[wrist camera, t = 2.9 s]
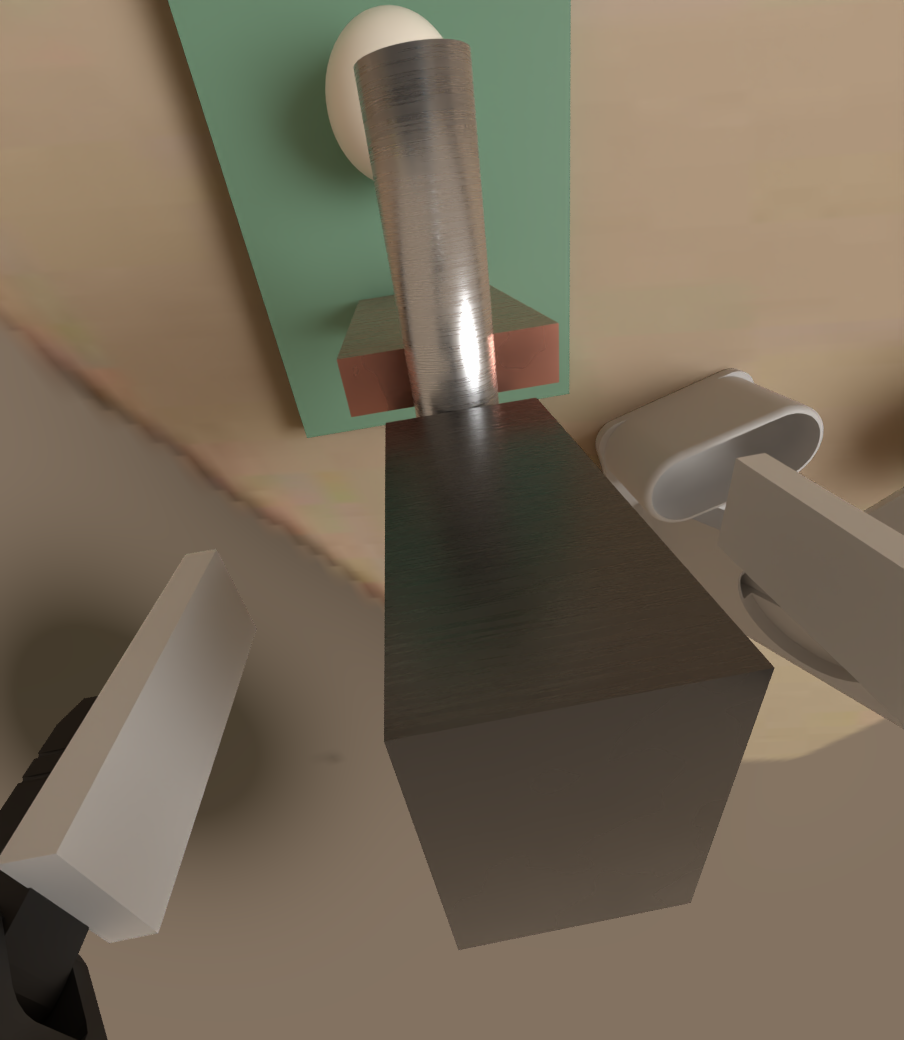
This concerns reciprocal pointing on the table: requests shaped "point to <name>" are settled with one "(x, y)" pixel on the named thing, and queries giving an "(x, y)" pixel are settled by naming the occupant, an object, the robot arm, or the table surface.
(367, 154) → the ball
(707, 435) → the phone holder
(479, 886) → the multicoloured piece
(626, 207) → the table surface
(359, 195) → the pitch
